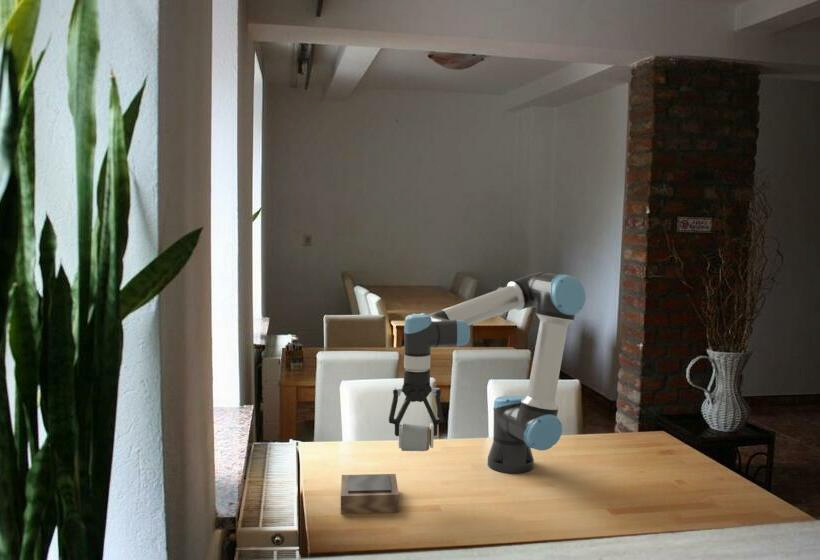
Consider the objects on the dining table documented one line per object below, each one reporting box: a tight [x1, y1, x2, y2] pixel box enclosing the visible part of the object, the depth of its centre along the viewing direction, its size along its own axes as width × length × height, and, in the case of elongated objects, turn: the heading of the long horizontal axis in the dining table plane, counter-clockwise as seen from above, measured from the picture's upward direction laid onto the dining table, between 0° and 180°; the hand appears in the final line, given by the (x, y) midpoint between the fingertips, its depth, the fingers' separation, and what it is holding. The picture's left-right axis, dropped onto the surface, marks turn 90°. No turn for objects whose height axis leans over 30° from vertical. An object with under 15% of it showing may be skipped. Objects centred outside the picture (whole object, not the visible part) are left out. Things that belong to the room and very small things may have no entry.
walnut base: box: [340, 473, 400, 514], centre depth 209 cm, size 16×16×6 cm
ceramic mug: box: [400, 423, 430, 452], centre depth 211 cm, size 11×8×8 cm
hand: (415, 446), depth 210 cm, fingers closed on ceramic mug, 8 cm apart
